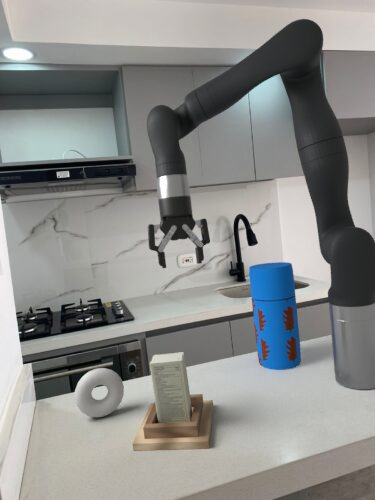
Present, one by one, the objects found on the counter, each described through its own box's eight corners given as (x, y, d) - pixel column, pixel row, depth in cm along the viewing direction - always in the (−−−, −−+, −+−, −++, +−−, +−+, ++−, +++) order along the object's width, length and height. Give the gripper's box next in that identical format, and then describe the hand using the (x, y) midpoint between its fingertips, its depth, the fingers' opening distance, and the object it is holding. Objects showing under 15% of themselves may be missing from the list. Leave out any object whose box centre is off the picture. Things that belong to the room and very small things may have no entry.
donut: (125, 405, 78) (119, 361, 77) (128, 413, 74) (122, 366, 74) (77, 418, 75) (71, 371, 74) (78, 426, 71) (71, 377, 71)
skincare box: (192, 412, 69) (185, 351, 69) (191, 425, 65) (183, 360, 64) (160, 414, 70) (153, 353, 69) (156, 427, 66) (149, 362, 65)
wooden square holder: (213, 405, 73) (211, 390, 73) (208, 448, 60) (206, 429, 59) (151, 408, 75) (149, 393, 75) (133, 450, 61) (131, 432, 61)
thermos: (298, 352, 96) (290, 261, 95) (304, 369, 86) (294, 266, 84) (257, 354, 98) (248, 264, 97) (258, 370, 88) (248, 270, 86)
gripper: (145, 197, 78) (154, 271, 79) (207, 191, 81) (215, 262, 82) (142, 201, 85) (150, 268, 86) (199, 195, 88) (206, 260, 89)
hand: (182, 265), depth 84 cm, fingers open, 8 cm apart
